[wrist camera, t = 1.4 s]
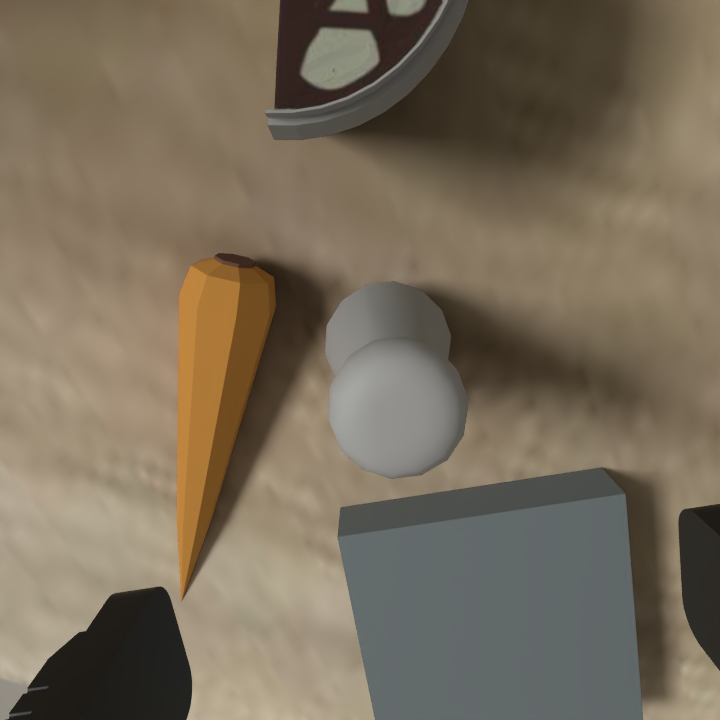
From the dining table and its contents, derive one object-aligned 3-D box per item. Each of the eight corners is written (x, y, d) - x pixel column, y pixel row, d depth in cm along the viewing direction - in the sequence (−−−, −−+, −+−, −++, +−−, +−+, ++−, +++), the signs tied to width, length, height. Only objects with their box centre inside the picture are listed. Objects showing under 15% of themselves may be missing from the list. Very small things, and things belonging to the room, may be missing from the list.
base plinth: (601, 467, 31) (625, 493, 28) (620, 688, 35) (643, 731, 32) (340, 507, 32) (337, 537, 29) (383, 719, 35) (384, 764, 32)
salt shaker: (404, 409, 31) (428, 546, 18) (307, 354, 30) (263, 455, 17) (466, 313, 29) (538, 388, 17) (367, 253, 29) (365, 284, 16)
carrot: (226, 243, 30) (162, 248, 26) (302, 268, 28) (247, 277, 24) (178, 563, 36) (121, 606, 32) (237, 597, 35) (185, 647, 31)
